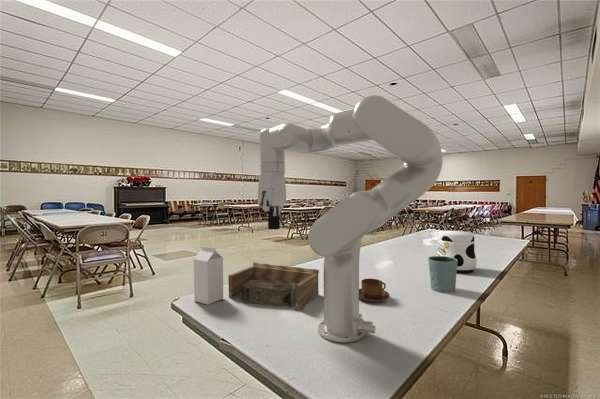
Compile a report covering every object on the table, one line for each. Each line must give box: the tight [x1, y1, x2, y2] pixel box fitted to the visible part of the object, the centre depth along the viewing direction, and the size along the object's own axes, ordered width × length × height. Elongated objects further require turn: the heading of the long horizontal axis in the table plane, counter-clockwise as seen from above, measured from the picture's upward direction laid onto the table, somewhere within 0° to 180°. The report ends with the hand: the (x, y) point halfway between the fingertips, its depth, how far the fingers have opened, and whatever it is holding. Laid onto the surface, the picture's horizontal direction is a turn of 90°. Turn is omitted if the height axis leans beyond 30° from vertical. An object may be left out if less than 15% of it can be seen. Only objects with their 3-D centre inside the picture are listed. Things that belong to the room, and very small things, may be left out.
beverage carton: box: [240, 280, 297, 308], centre depth 102 cm, size 8×19×6 cm, turn 75°
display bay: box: [227, 261, 320, 311], centre depth 107 cm, size 29×16×9 cm, turn 64°
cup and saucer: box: [359, 278, 390, 303], centre depth 103 cm, size 12×12×6 cm
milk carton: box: [193, 245, 224, 306], centre depth 103 cm, size 7×7×19 cm
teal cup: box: [427, 255, 458, 294], centre depth 112 cm, size 10×10×12 cm
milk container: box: [435, 230, 478, 273], centre depth 141 cm, size 17×17×18 cm
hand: (274, 228), depth 89 cm, fingers closed
